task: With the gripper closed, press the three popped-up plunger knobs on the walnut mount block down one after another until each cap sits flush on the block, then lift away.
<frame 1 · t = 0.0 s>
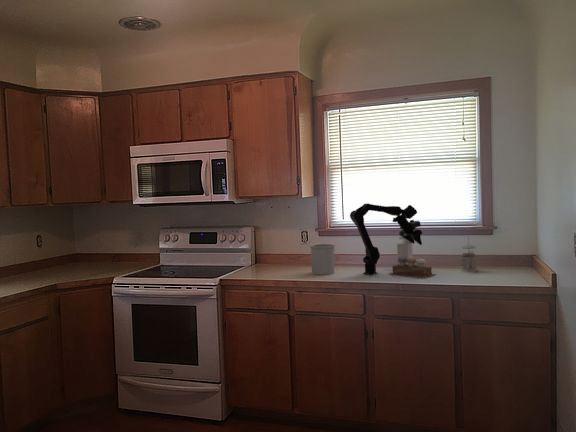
hand: (417, 243, 295), 16 cm above the countertop, tool tilted 35°, fingers open, 8 cm apart
knob mid: (411, 263, 278), point 7 cm above the countertop, slide at 2.5 cm
knob 2: (420, 264, 274), point 7 cm above the countertop, slide at 2.5 cm
knob 1: (402, 262, 283), point 7 cm above the countertop, slide at 2.5 cm
mount: (411, 274, 279), on the countertop
milk carton: (405, 267, 303), on the countertop, touching gripper
french press: (469, 270, 285), on the countertop
utensil holder: (323, 273, 297), on the countertop
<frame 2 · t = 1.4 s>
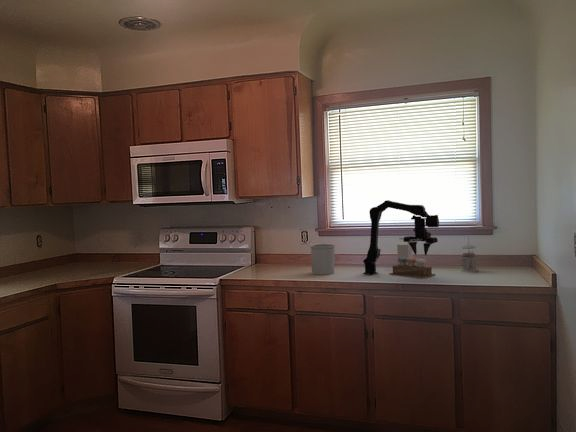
hand: (420, 254, 274), 12 cm above the countertop, tool pointing down, fingers open, 6 cm apart
milk carton: (405, 268, 303), on the countertop
everything else where it was.
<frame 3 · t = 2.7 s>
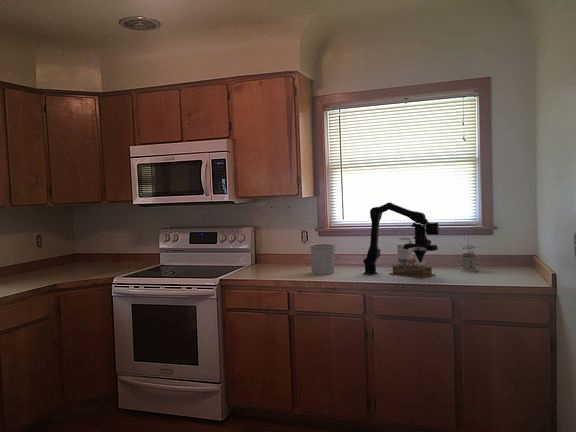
hand: (420, 262, 274), 8 cm above the countertop, tool pointing down, fingers closed, pressing on knob 2
knob 2: (420, 266, 274), point 5 cm above the countertop, slide at 1.0 cm, touching gripper
everything else where it was.
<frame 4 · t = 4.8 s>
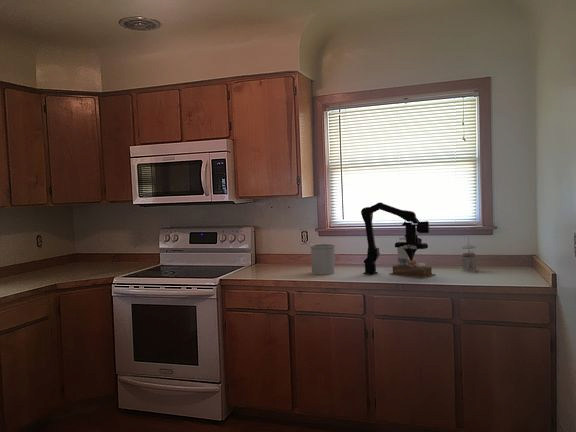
hand: (411, 260, 278), 8 cm above the countertop, tool pointing down, fingers closed, pressing on knob mid
knob mid: (411, 264, 278), point 6 cm above the countertop, slide at 1.6 cm, touching gripper
knob 2: (420, 268, 274), point 4 cm above the countertop, slide at 0.0 cm
everything else where it was.
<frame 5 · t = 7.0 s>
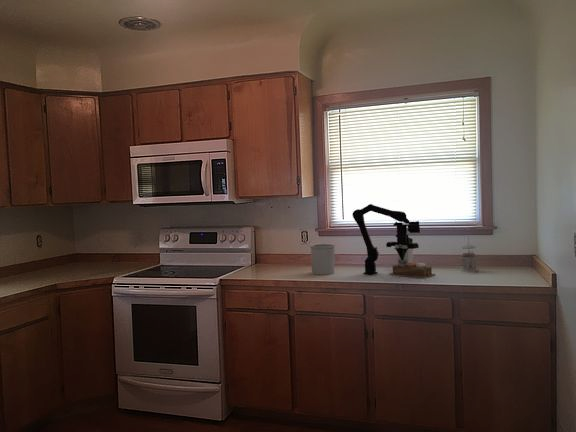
hand: (402, 259, 283), 8 cm above the countertop, tool pointing down, fingers closed, pressing on knob 1
knob mid: (411, 267, 279), point 4 cm above the countertop, slide at -0.1 cm
knob 1: (402, 264, 283), point 6 cm above the countertop, slide at 1.4 cm, touching gripper
everything else where it was.
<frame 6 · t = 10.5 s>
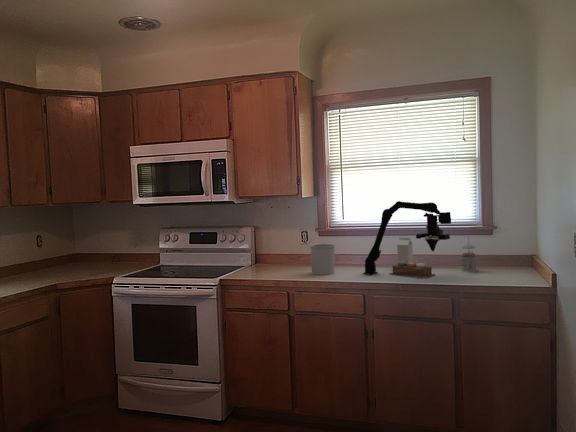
hand: (432, 251, 279), 13 cm above the countertop, tool pointing down, fingers closed
knob 1: (402, 266, 283), point 4 cm above the countertop, slide at -0.1 cm
everything else where it was.
at the end: knob 2 slide at 0.0 cm; knob mid slide at -0.1 cm; knob 1 slide at -0.1 cm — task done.
